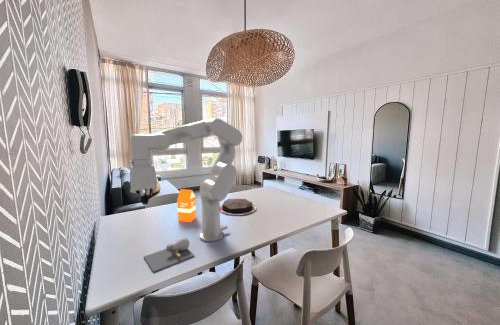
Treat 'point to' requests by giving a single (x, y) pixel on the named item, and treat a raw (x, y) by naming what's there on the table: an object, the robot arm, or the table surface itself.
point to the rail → (176, 253)
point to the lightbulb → (179, 244)
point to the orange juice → (186, 205)
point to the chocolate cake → (237, 207)
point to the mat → (165, 259)
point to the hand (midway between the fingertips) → (144, 203)
